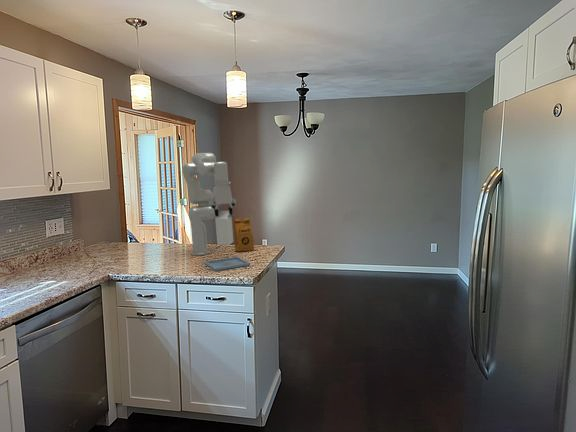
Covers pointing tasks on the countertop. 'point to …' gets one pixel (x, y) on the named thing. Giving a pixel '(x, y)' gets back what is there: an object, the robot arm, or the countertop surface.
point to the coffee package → (243, 235)
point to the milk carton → (224, 228)
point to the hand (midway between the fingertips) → (223, 215)
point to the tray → (226, 263)
